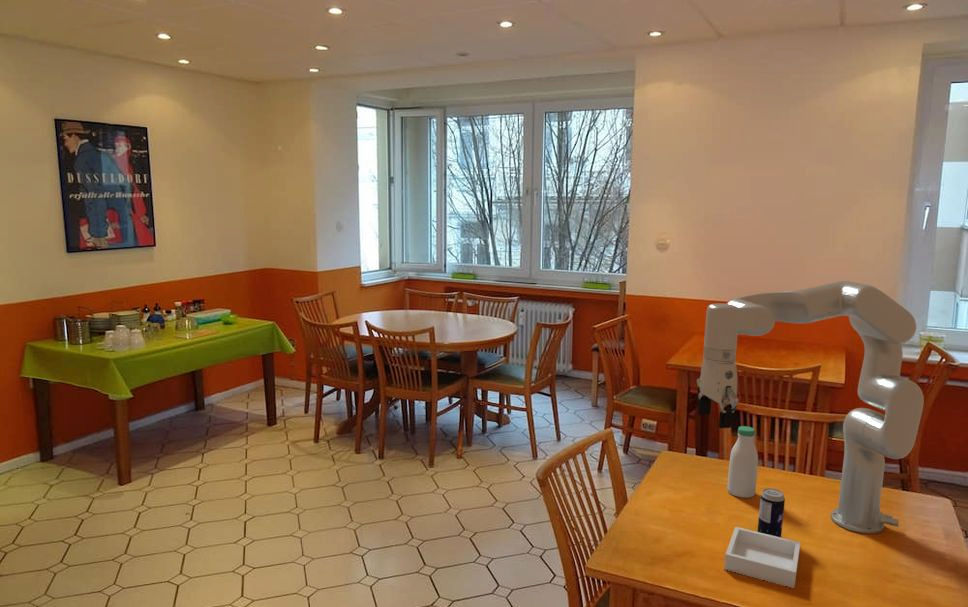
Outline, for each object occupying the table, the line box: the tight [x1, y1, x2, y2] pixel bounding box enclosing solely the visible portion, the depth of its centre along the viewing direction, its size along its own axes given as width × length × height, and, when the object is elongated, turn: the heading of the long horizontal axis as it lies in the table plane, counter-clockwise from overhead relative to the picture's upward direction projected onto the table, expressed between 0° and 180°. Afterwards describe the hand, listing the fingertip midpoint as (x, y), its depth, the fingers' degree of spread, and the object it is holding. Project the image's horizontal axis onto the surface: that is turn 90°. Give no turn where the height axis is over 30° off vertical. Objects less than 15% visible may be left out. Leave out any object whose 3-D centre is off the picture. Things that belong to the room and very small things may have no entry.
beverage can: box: [757, 487, 786, 538], centre depth 171 cm, size 6×6×12 cm
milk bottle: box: [727, 425, 759, 499], centre depth 195 cm, size 8×8×20 cm
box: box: [724, 526, 801, 589], centre depth 159 cm, size 15×15×4 cm
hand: (714, 420), depth 166 cm, fingers open, 9 cm apart
